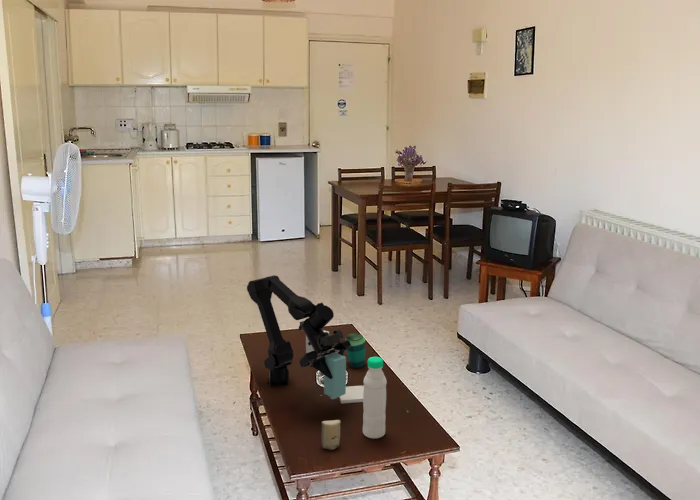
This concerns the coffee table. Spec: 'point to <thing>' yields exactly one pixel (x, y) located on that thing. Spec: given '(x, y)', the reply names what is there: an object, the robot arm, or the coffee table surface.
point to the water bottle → (374, 399)
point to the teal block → (335, 375)
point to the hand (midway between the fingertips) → (337, 376)
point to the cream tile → (353, 394)
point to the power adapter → (330, 434)
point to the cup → (356, 350)
